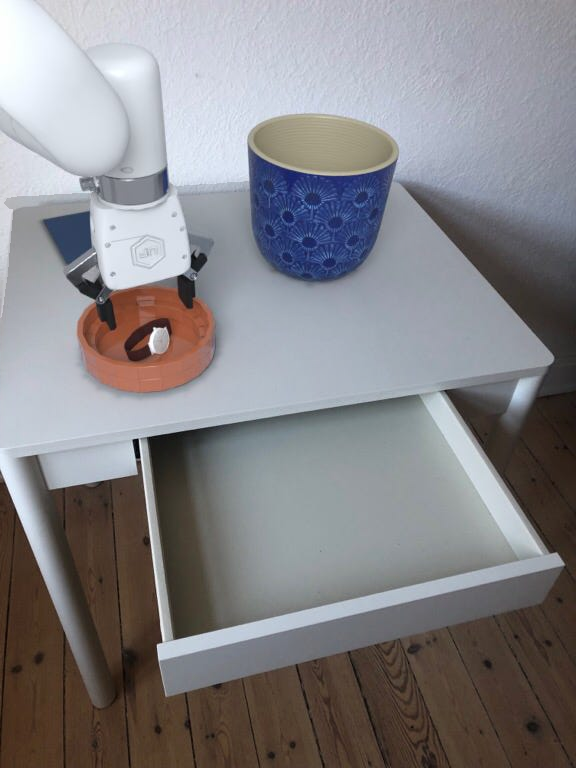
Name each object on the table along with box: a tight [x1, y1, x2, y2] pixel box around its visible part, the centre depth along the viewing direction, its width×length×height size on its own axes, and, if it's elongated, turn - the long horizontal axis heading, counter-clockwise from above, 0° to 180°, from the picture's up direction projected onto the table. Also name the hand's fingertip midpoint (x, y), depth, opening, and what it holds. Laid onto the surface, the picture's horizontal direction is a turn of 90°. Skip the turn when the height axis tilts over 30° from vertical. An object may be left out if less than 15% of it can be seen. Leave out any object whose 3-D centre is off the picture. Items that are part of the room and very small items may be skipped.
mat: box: [43, 210, 92, 265], centre depth 102 cm, size 18×14×1 cm
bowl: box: [76, 284, 216, 393], centre depth 79 cm, size 16×16×4 cm
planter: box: [246, 112, 400, 282], centre depth 93 cm, size 21×21×19 cm
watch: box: [124, 318, 172, 361], centre depth 79 cm, size 8×5×4 cm, turn 154°
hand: (148, 313), depth 77 cm, fingers open, 9 cm apart
